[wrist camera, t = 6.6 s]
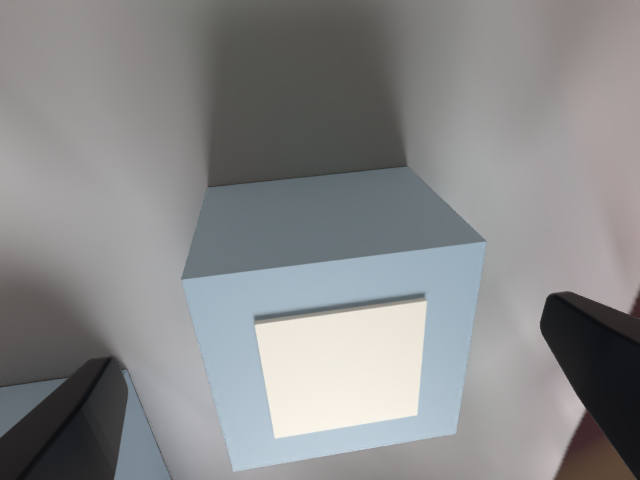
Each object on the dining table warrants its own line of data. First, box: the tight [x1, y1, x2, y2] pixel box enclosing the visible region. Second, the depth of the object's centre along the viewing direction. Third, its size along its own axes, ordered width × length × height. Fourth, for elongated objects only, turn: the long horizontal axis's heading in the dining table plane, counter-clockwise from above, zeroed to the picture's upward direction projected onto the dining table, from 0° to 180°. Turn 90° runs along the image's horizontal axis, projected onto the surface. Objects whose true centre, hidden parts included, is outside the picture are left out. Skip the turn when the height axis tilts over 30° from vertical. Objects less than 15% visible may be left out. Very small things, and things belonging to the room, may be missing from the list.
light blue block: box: [181, 167, 487, 472], centre depth 9 cm, size 5×5×4 cm
